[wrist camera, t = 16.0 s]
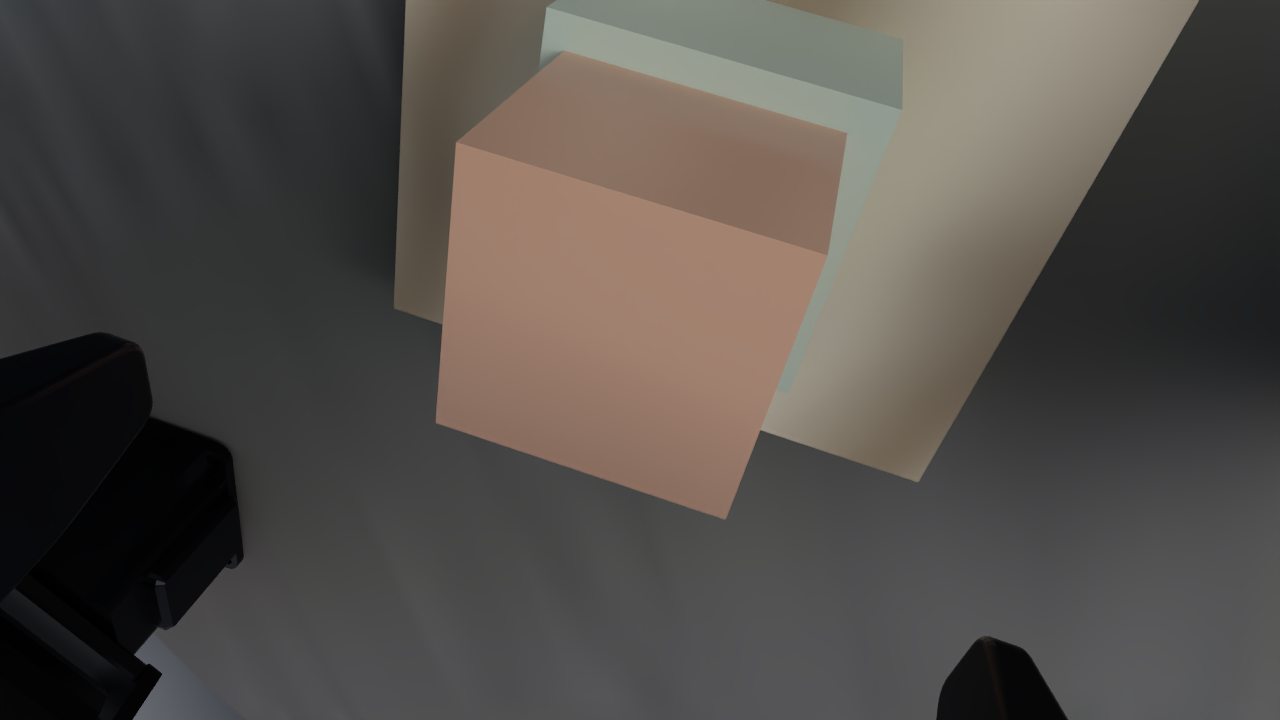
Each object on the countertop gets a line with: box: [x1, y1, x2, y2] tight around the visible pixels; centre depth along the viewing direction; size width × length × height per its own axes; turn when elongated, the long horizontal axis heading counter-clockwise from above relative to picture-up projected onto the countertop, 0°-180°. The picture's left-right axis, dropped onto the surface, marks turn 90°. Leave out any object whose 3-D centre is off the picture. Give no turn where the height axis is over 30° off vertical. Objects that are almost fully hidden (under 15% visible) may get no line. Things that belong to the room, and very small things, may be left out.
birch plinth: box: [394, 0, 1199, 482], centre depth 18 cm, size 14×14×2 cm
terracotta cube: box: [436, 51, 847, 520], centre depth 13 cm, size 4×4×4 cm
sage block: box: [538, 0, 903, 394], centre depth 16 cm, size 6×6×4 cm
